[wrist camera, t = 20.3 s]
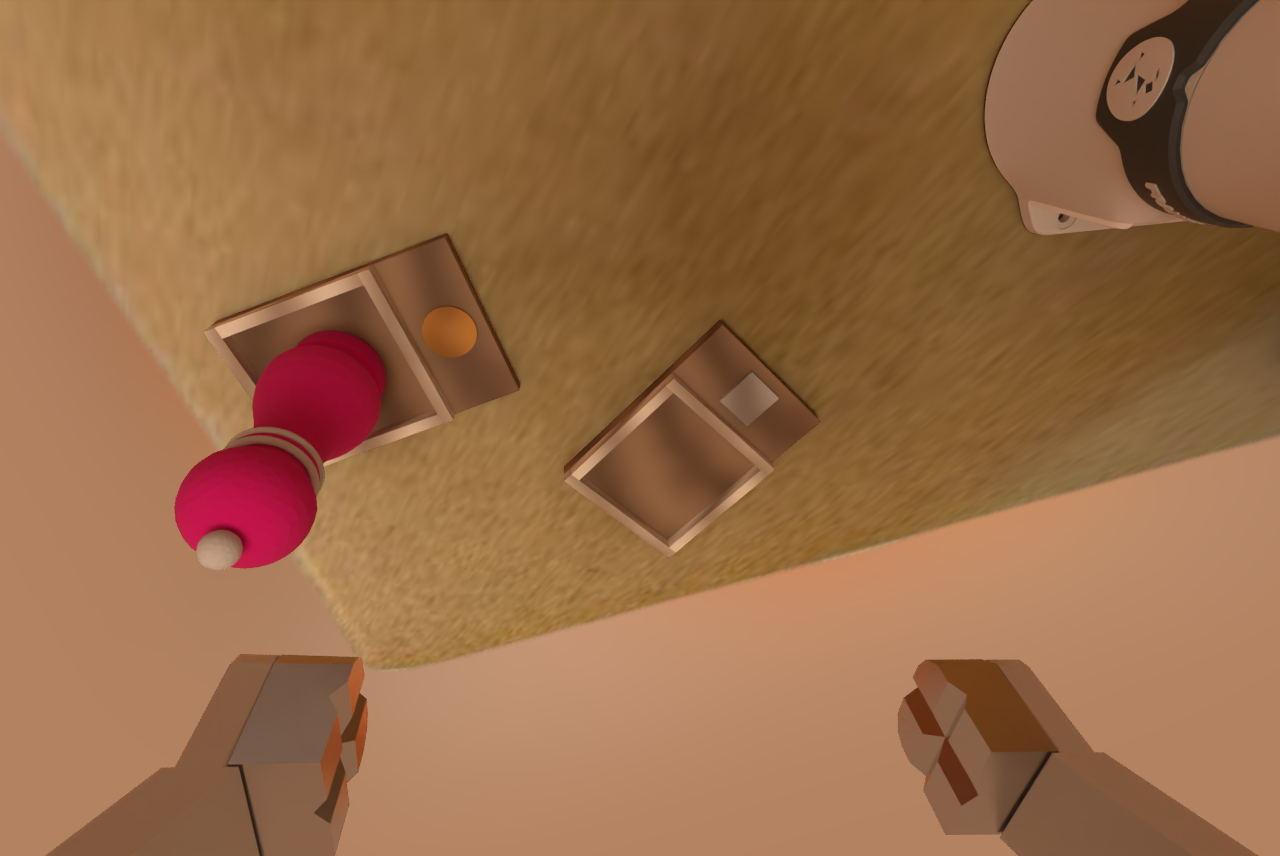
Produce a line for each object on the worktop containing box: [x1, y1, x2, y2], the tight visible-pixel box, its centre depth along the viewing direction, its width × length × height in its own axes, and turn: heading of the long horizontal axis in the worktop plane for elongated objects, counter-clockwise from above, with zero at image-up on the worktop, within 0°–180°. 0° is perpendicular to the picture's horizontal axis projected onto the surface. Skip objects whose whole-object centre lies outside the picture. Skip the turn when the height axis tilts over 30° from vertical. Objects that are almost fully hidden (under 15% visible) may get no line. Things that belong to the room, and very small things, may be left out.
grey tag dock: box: [564, 320, 820, 558], centre depth 53 cm, size 17×12×2 cm
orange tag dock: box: [203, 234, 520, 466], centre depth 47 cm, size 17×12×2 cm
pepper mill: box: [175, 331, 386, 570], centre depth 38 cm, size 7×7×20 cm
